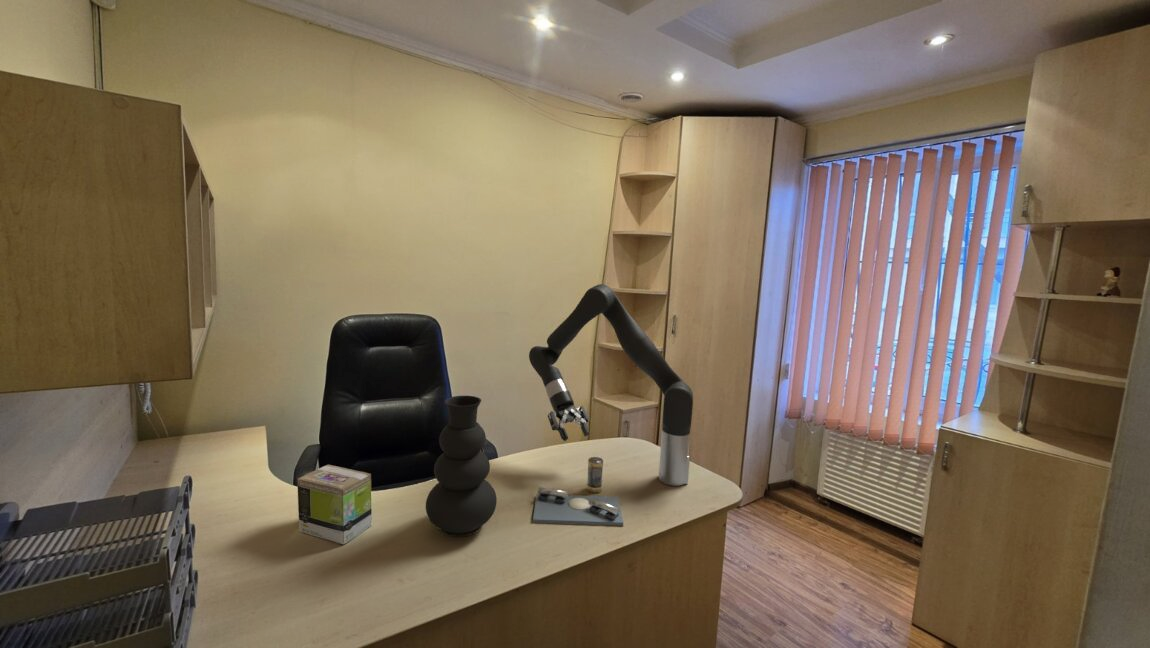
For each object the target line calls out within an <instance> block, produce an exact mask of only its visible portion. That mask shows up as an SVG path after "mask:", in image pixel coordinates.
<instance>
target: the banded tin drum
mask: <svg viewBox="0 0 1150 648" xmlns="http://www.w3.org/2000/svg"><path fill="white" fill-rule="evenodd" d="M603 468H604V460H603V458H601V457H599V456H591V457H589V458H588V459H587V482H586V491H587V492H588V493H591V494H599V493H601V492H602V490H603Z"/></svg>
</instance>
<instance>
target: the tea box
mask: <svg viewBox="0 0 1150 648" xmlns="http://www.w3.org/2000/svg"><path fill="white" fill-rule="evenodd" d="M296 482H297V507H298V529H299V532H300V533H303V534H306V535H307V534H308V535H310V536H313V537H317V538H320V539H323V540H328V541H331V542H334V543H337V544H340V545H345V544H347V543H348V542H350V541H352V540H353V539H355V538H357V536H359V535H360V534H362V533H363V532H365V531H366V530H367V529H369V528H370V527H372V519H373V518H372V516H373V515H372V514H373V513H372V512H373V511H372V473H368V472H366V471H361V470H360V471H359V470H356V469H355V470H354V469H350V468H346V467H341V466H338V465H337V466H336V465H332V464H326V465H324V466H321V467H319V468H318V469H315V470H313V471H311V472H309V473H306V474H305V475H302V476H301V477H298V478H297V481H296ZM368 527H369V528H368Z"/></svg>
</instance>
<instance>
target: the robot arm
mask: <svg viewBox="0 0 1150 648" xmlns="http://www.w3.org/2000/svg"><path fill="white" fill-rule="evenodd" d="M601 314H602V315H603V316H604V317H605V318H606V319H607V321H608V322H609V323H610V325H611V326H612V328H613V330H614V332H615V335H616V338H617V340H618V342H619V345H620V346H621V349H622V350H623V351H624V353H625V354H626V355H627V356H628V359H629V358H630V360H631V361H632V363H634V365H635V366H636V367H637V368H639V369H640V370H641V371H642V372H643V373H645V374H646V375H647V376H649V377H650V378H651V379H652V380H653V381H654V383H655V384H656V385H657V387H658V388H659V389H660V391H661V393H662V395H663V407H662V422H661V424H662V425H661V429H662V430H661V438H660V439H661V441H660V453H659V467H658V480H659V481H660V482H661V483H663V484H665V485H669V486H675V487H679V486H683V485H688V483H689V474H690V472H689V471H690V460H691V457H690V455H689V450H690V440H691V439H690V438H691V428H692V418H693V409H694V408H693V407H694V395H693V391H692V389H691V387H690V386H689V385H688V384H687V383H686V382H685V381H684V380H683V379H682V378H681V377H680V376H679V375H678V374H677V372H675V371H674V370H673V368H671V366H670V365H669V363H668V362H667V361H666V359H665V358H664V355H662V353H661V351H659V348H657V347H656V344H654V343H653V341H652V340H651V339H650V337H649V336H648V335H647V333H646V332H645V331H644V330H643V329H642V328H641V327H640V326H639V324H638V323H637V322H636V321H635V319H634V318H633V317H632V316H631V314H630V313H628V311H627V310H626V308H625V307H624V306H623V304H622V303H621V300H620V299H619V297H618V295H617V294H616V293H615V291H614V290H613V289H612V288H611V287H610V286H608V284H607V285H606V284H603V283H599V284H596V285H594V286H592V287H590V288H589V289H587V290H586V292H585V293H584V294H583V296H582V298H581V299H580V301H579V302H578V304H577V305H576V307H575V308H574V309H573V311H572V312H571V313H570V314H569V315H568V317H566V318H565V319H564V320H563V321H562V323H560V324H559V325H558V326H557V327H556V328H555V329H554V331H552V333H550V335H548V337H547V339H546V344H547V346H539V345H537V346H533V347H532V348H530V350H529V352H528V353H529V354H528V359H529V362H530V364H531V366H532V367H533V369H534V371H535V372H536V374H537V375H538V376H539V377H540V378H541V381H542V383H543V386H544V387H545V392H546V395H547V398H548V399H549V402H550V405H551V407H552V410H551V411H550V412H549V413H548V414H547V418H548V422H549V424H550V427H551V430H552V431H554V432H555V431H557V432H558V433H559V437H560V438H561V440H563V442H566V441H567V440H569V436H568V434H567V431H566V428H564V426H565V424H568V423H574V424H577V425H579V426H580V429H581V431H582V434H583V436H584V437H587V436H589V435H590V429H589V428H588V423H589V422H590V420H591V419H590V417H589V415H588V413H587V411H586V410H585V407H584V406H583V405H581V406H579V407H577V406H575V402H574V399H573V397H572V394H571V393H570V390H569V387H568V386H567V384H566V382H565V380H564V377H563V376H562V373H561V372H560V369H559V368H558V367H556V366H554V365H555V364H556V363H557V362H558V360H559V358H560V356H561V355H562V352H563V351H564V349H566V348H567V346H568V345H570V344H571V342H573V340H574V339H575V338H576V337H577V336H578V334H579V333H580V332H581V330H582V329H583V328H584V327H585V326H586V325H587V324H589V323H590V322H591V321H592V320H593V319H594V318H597V316H599V315H601ZM557 419H558V421H557Z"/></svg>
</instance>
